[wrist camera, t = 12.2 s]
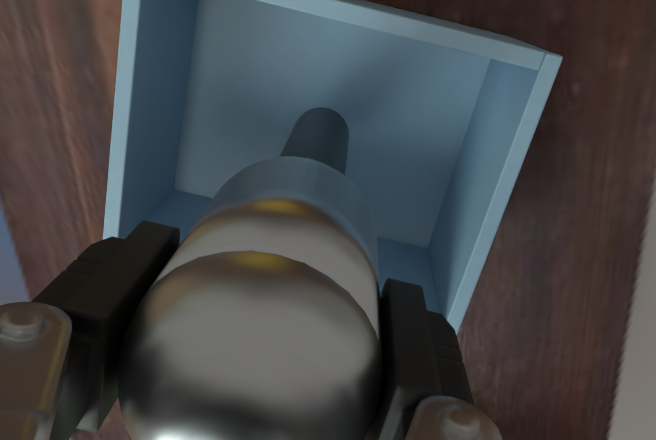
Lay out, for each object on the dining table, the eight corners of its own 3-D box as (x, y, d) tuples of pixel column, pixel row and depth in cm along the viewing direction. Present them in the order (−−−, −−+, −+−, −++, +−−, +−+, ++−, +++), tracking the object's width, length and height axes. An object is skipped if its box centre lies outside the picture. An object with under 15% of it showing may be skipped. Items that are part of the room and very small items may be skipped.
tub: (509, 36, 25) (564, 56, 18) (433, 256, 30) (454, 342, 22) (194, -43, 25) (126, -53, 18) (164, 193, 29) (100, 259, 22)
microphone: (384, 97, 24) (429, 375, 7) (358, 193, 26) (343, 604, 9) (281, 71, 24) (72, 293, 7) (262, 170, 25) (57, 542, 9)
